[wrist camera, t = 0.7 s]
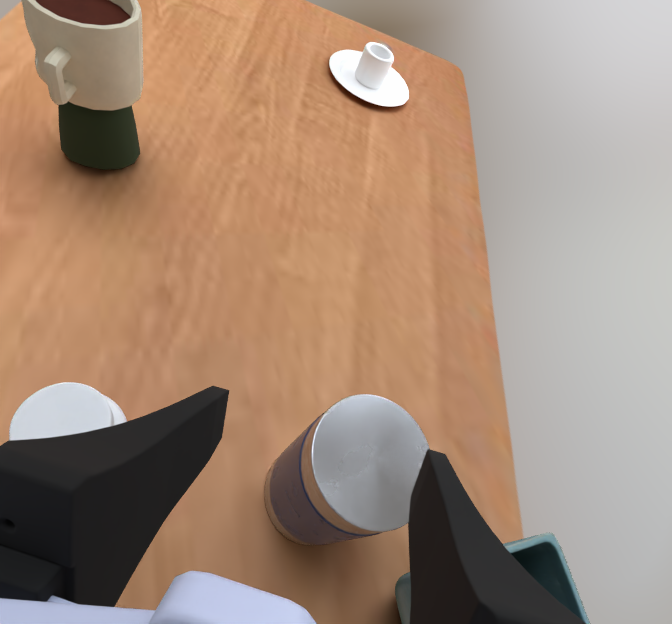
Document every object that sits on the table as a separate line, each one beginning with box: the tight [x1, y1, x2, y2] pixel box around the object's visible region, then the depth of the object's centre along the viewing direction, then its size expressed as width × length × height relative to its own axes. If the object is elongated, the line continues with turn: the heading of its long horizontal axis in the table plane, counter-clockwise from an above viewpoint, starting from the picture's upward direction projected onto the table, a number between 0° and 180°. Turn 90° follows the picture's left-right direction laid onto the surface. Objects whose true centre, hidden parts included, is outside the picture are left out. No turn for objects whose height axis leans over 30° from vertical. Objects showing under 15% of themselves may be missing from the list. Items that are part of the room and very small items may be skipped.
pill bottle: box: [9, 382, 127, 441], centre depth 23 cm, size 5×5×9 cm
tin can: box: [265, 394, 430, 545], centre depth 26 cm, size 7×7×11 cm
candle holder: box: [329, 42, 409, 107], centre depth 59 cm, size 12×12×4 cm
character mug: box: [22, 0, 143, 170], centre depth 34 cm, size 11×7×13 cm, turn 173°
